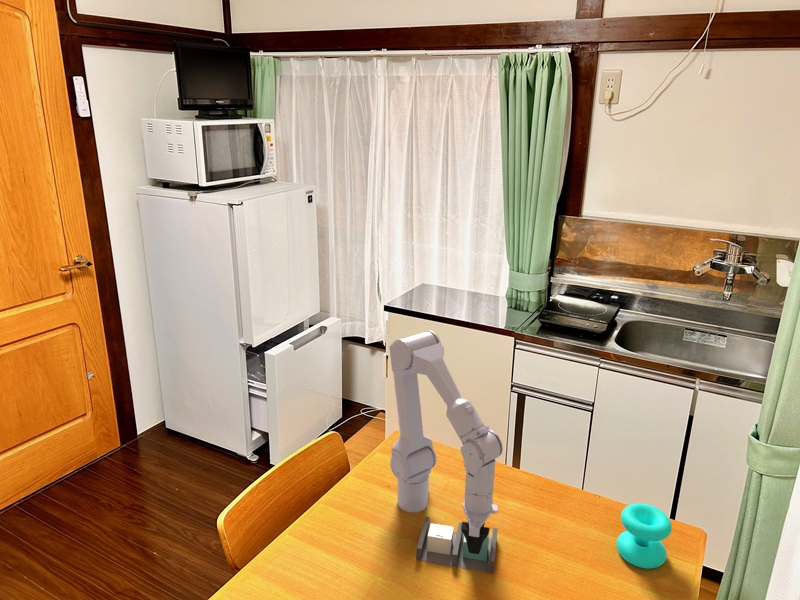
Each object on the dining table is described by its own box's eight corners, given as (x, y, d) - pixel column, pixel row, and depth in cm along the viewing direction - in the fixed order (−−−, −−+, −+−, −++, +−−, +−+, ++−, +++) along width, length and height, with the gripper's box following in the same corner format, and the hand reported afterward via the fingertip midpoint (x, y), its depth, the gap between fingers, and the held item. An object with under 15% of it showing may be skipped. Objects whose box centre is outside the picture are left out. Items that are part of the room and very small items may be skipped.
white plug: (430, 538, 132) (430, 522, 130) (452, 541, 131) (453, 526, 129) (427, 551, 128) (427, 535, 126) (450, 555, 127) (451, 539, 125)
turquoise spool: (619, 522, 124) (625, 495, 132) (612, 561, 127) (619, 532, 136) (671, 538, 120) (674, 509, 128) (663, 578, 123) (666, 546, 131)
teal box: (464, 544, 130) (465, 528, 129) (488, 547, 129) (489, 532, 128) (462, 557, 126) (463, 541, 125) (486, 561, 125) (487, 545, 124)
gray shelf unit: (424, 531, 135) (425, 516, 134) (496, 543, 132) (497, 528, 130) (416, 563, 126) (416, 548, 124) (492, 577, 123) (494, 561, 121)
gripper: (496, 513, 115) (492, 569, 119) (501, 469, 128) (497, 521, 133) (459, 507, 116) (456, 563, 121) (468, 464, 130) (465, 516, 134)
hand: (475, 541), depth 127 cm, fingers open, 6 cm apart
